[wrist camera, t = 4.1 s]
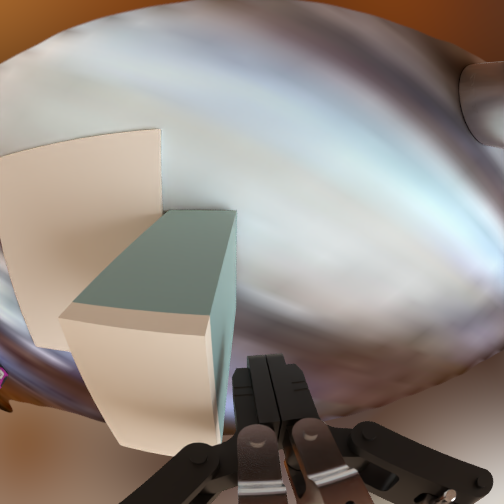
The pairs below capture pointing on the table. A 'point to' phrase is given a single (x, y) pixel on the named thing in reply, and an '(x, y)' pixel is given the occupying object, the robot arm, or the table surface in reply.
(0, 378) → the candy bar box
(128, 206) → the mat
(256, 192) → the table surface
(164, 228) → the teal block
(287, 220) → the table surface
